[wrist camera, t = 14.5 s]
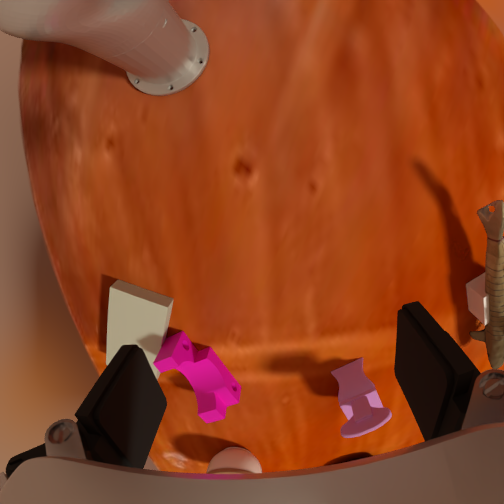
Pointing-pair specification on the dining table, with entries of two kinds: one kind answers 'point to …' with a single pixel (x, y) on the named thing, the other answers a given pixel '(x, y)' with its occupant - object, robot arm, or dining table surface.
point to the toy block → (200, 375)
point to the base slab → (137, 320)
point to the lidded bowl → (234, 462)
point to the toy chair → (359, 401)
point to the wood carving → (490, 287)
